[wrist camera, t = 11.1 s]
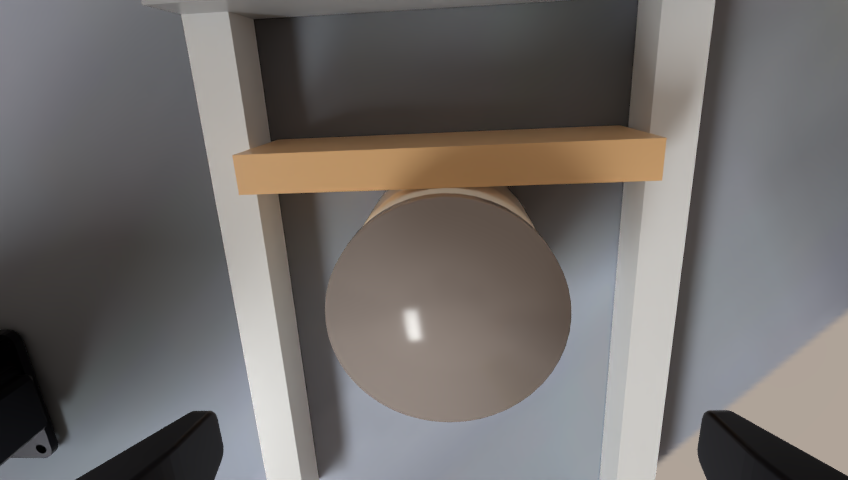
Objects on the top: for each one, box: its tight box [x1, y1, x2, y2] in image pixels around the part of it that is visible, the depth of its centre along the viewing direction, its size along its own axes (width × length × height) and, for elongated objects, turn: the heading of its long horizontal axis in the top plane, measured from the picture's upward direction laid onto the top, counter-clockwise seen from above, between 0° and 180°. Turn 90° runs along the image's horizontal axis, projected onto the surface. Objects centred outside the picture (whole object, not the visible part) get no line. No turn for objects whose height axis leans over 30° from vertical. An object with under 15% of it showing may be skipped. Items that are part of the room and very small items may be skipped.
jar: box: [325, 186, 571, 422], centre depth 16 cm, size 7×7×6 cm
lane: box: [141, 0, 715, 480], centre depth 17 cm, size 16×22×4 cm
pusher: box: [232, 125, 667, 195], centre depth 16 cm, size 12×1×4 cm, turn 93°
